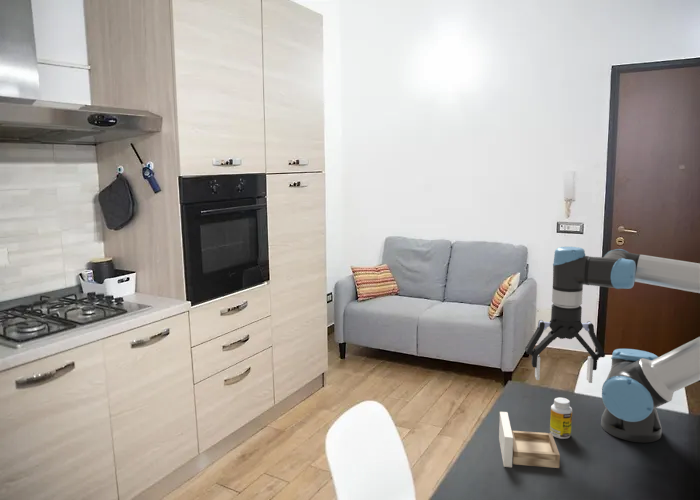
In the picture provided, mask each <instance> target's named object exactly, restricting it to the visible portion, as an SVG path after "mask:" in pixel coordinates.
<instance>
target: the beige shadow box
mask: <svg viewBox="0 0 700 500" xmlns="http://www.w3.org/2000/svg"><path fill="white" fill-rule="evenodd" d="M511 431H512V435H513V455H512V465H518V466H529V467H542V468H552V469H553V468H554V469H555V468H556V469H560V463H561V462H560V461H561V459H560V458H561V454H560V452H559V449H558V446H557V444H556V441H555V439H554V438H555V437H554V436H553V435H552V433H550V432H549V433H548V432H538V431H537V432H536V431H523V430H521V431H520V430H512V429H511Z"/></svg>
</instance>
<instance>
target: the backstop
mask: <svg viewBox="0 0 700 500" xmlns="http://www.w3.org/2000/svg"><path fill="white" fill-rule="evenodd" d="M511 430H512V427H511V421H510V417H509V413H508V411H499V429H498V441H499V446H500V452H501V458H502V464H503V467H504V468H505V467H506V468H513V460H512V455H513V435H512V431H513V430H512V431H511Z"/></svg>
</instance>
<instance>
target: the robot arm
mask: <svg viewBox="0 0 700 500" xmlns="http://www.w3.org/2000/svg"><path fill="white" fill-rule="evenodd" d="M635 283H640V284H648V285H652V286H657V287H658V286H659V287H664V288H669V289H675V290H681V291H684V292H690V293H691V292H692V293H696V294H697V293H698V294H700V262H698V263H697V262H691V261H686V260H679V259H672V258H665V257H660V256H659V257H658V256H652V255H648V254H638V253H634V252H633V253H632V252H629V251H627V250H625V249H622V248H616V249H612V250H609V251H607V252H606V253H605V254H604V255H603V257H602V256H600V257H599V256H589V255H586V253H585V249H584V248H582V247H577V246H559V247H557V248H556V249H555V250H554V256H553V263H552V293H551V302H552V304H551V310H550V311H551V314H550V315H551V316H550V321H543V320H542V319H540V320H538V322H537V323H538V324H537V328H536V329H535V331H534V332H533V334H532V336H531V338H530V340H529V341H528V343H527V345H526V346H525V349H524V351H525V353H526V355H531V366H532V367H533V368H535V369H534V377H535V380H536V381H540V380H541V379H540V376H541V373H540V372H541V356H540V355H541V353H542V352H543V351H544V350H545V349H546V348H547V347H548V346H549V345H550V344H551V343H552V342H553V341H555V340H556V339H557V338H558V339H560V340H562V339H563V340H564V339H567V340H572V339H574V338H576V340H577V342H579V344H580V345H581V346H582V347H583V348H584V349H585V351H587V353H589V355H590V356H589V355H588V356H587V363H586V364H587V366H586V367H587V368H586V380H587V382H588V383H590V384H592V383H593V377H594V376H593V373H594V371H597V369H598V361H599V359H601V358H605V357H606V354H605V351H604V349H603V347H602V345H601V343H600V341H599V339H598V336H597V335H596V332H595V326H594V324H593V323H592V322H591V321H589V320H588V321H587V322H582V312H583V311H582V309H583V308H582V304H583V288H584V285H585V286H594V287H603V288H613V289H616V290H621V289H625V290H627V289H629V290H630V289H632V288H633V287H634V285H635ZM548 327H549V328H550V331H549V332H548V334H547V335H545V337H544V338H543V339H542V340H541V341H540V342H539V343H538V341H539V340H540V338H541V337H542V335H543V333H544V331H545V330H547V328H548ZM582 329H584V330H585V332H587V333H588V335H589V337H590V339H591V342H592V343H593V346H594V347H595V349H596V351H594V350H593V349H592V348H591V347H590V345H589V344H588V343H587V342H586V340H584V338H583V337H582V336H581V334H579V333H580V332H581V331H582ZM610 358H611V367H610V371H609V373H608V375H607V377H606V379H605V381H604V382H603V384H602V388H601V399H602V402H603V404H604V405H603V406H604V407H605V409H604V411H603V413H602V415H601V421H600V425H601V427H602V429H603V431H605V432H606V433H608V434H610V435H611V436H613V437H615V438H618V439H621V440H623V441H628V442H633V443H642V444H645V443H646V444H647V443H654V442H657V441H658V440H660V439H661V438H662V430H663V428H662V424H661V420H660V418H659V414H658V410H657V408H658V407H660V406H663V405H665V404H667V403H671V402H672V400H673V395H674V393H675V392H677V391H680V390H682V389H683V388H686V387H688V386H690V385H692V384H694V383H697V382H699V381H700V336H698V337H696V338H695V339H692V340H690V341H688V342H686V343H683V344H682V345H680V346H678V347H676V348H674V349H672V350H671V351H668V352H666V353H664V354H662V355H661V356H658V355H656V354H654V353H652V352H649V351H646V350H640V349H634V348H616V349H614V350H613V352H612V355H611V357H610Z"/></svg>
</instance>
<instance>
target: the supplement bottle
mask: <svg viewBox="0 0 700 500" xmlns="http://www.w3.org/2000/svg"><path fill="white" fill-rule="evenodd" d="M570 405H571V404H570V400H569V399H568V398H565V397H555V398H554V400H553V404H552V405H551V406H550V418H549V419H550V420H549V421H550V422H549V433H552V435H553V438H556V439H561V440H564V439H565V440H566V439H569V438H570V437H571V436H572V423H573V422H572V421H573V408H572V407H571V406H570Z"/></svg>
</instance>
